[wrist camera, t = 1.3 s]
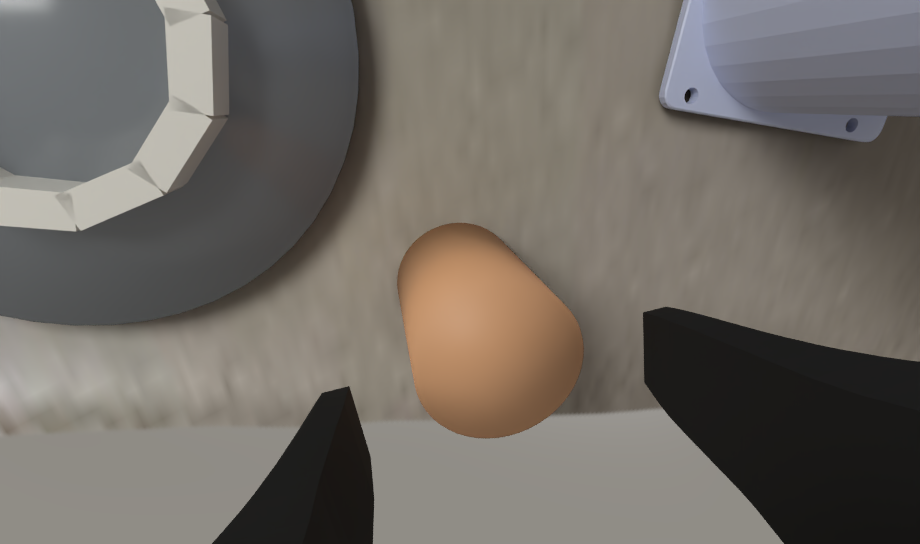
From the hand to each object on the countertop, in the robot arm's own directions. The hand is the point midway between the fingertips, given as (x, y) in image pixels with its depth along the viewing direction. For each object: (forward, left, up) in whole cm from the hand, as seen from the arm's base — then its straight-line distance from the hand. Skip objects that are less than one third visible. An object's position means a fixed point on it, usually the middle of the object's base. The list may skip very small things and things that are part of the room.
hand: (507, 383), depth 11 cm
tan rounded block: (0, 0, -7) cm, 7 cm away
